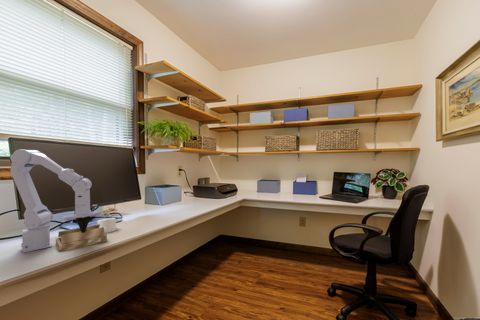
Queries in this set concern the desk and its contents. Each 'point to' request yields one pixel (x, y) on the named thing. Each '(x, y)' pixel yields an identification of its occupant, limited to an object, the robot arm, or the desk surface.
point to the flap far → (77, 230)
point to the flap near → (82, 235)
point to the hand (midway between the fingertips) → (83, 233)
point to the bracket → (108, 224)
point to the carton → (80, 242)
